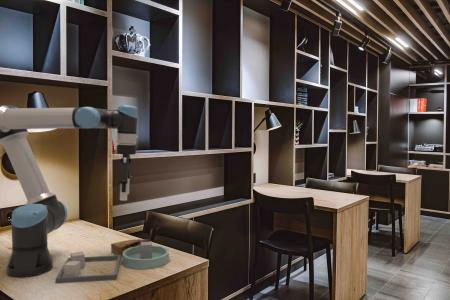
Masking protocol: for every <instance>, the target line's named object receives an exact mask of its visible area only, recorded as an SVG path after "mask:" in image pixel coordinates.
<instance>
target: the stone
mask: <svg viewBox="0 0 450 300" xmlns="http://www.w3.org/2000/svg"><path fill="white" fill-rule="evenodd" d="M141 242H151V239H144V238H143V239H140V238H139V239H129V240H121V241H119V242H113V243H111V244H110V251H111V254H112V255H121V258H122V255H123V251H125V250H126V249H128V248H131V247H136V246H140V245H141Z"/></svg>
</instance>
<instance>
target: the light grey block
mask: <svg viewBox="0 0 450 300" xmlns="http://www.w3.org/2000/svg"><path fill="white" fill-rule="evenodd" d="M64 264H65V263H64ZM64 264H63V266H64V275H63V277H72V276H82V274H81V268H80V261H69V262H68V263H66V264H65V265H64Z"/></svg>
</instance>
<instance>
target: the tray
mask: <svg viewBox="0 0 450 300" xmlns="http://www.w3.org/2000/svg"><path fill="white" fill-rule="evenodd" d="M69 261H71V257H68V258H67V259H66V261H65V262H64V264H63V266H62V268H61V269H60V271H59V272H58V274H57V276H56V277H55V283H56V284H62V283H63V284H64V283H80V282H81V283H82V282H94V281H95V282H96V281H97V282H99V281H112V280H114V281H115V280H117V279H118V274H119V269H120V265H121V261H122V257H121V255H115V254H112V255H99V256H98V255H95V256H85V263H86V262H88V263H89V262H105V261H116V263H115V268H114V272H113V273H107V274H92V275H91V274H90V275H80V276H72V277H64V265H65V264H66V263H68V262H69Z"/></svg>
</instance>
